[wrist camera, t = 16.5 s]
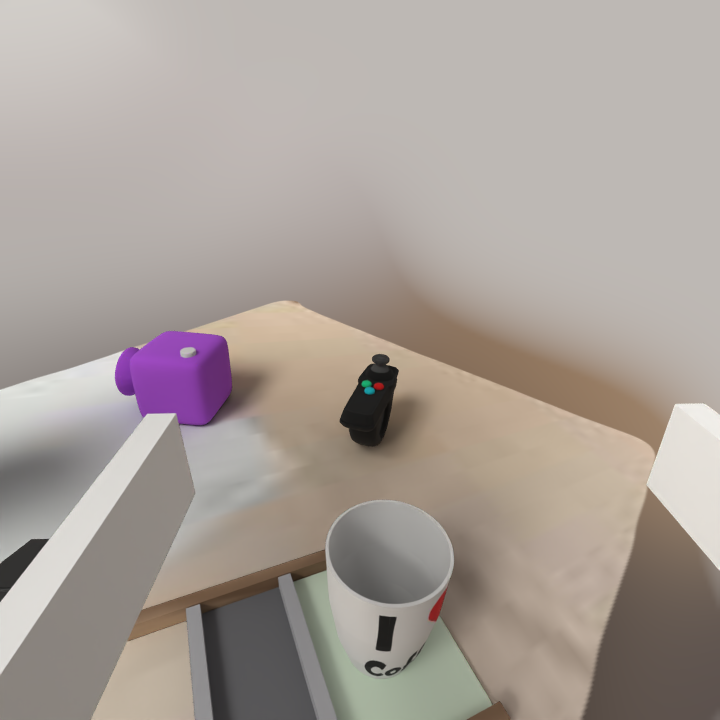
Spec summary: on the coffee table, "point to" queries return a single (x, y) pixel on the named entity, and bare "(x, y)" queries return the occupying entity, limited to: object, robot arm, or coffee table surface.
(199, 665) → the tray
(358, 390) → the controller
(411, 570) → the cup
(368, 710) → the pad
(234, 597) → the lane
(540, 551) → the coffee table surface
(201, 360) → the toy camera
